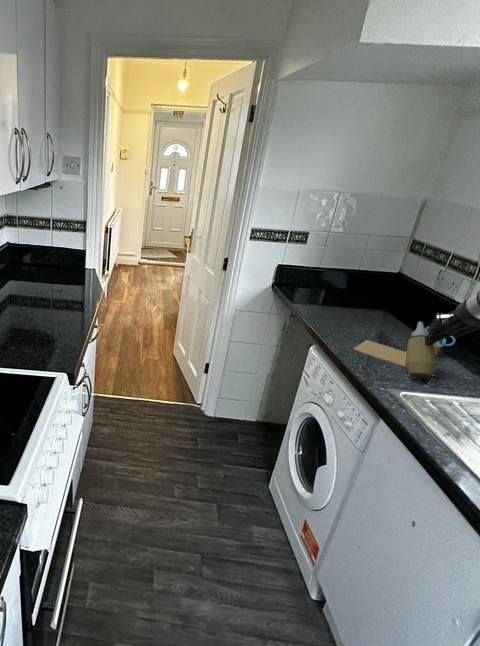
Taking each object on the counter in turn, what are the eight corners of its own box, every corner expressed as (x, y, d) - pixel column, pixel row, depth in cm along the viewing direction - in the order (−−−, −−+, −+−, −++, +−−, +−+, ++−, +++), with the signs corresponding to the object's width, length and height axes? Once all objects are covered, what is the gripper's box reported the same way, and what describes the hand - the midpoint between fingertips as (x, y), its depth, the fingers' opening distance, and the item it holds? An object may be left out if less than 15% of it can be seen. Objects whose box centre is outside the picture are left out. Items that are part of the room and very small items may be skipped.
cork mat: (420, 358, 149) (421, 356, 149) (409, 368, 141) (410, 367, 141) (366, 341, 162) (366, 339, 162) (352, 349, 153) (353, 348, 153)
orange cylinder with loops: (403, 343, 160) (419, 307, 154) (432, 347, 159) (449, 311, 153) (421, 358, 149) (438, 320, 143) (452, 362, 148) (471, 324, 142)
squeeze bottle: (410, 371, 130) (410, 317, 134) (400, 376, 137) (401, 325, 141) (441, 374, 127) (440, 319, 131) (430, 379, 134) (429, 327, 139)
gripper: (508, 298, 109) (450, 333, 131) (451, 292, 112) (404, 327, 133) (512, 324, 106) (452, 355, 128) (454, 317, 109) (405, 349, 131)
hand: (427, 341), depth 131 cm, fingers closed
